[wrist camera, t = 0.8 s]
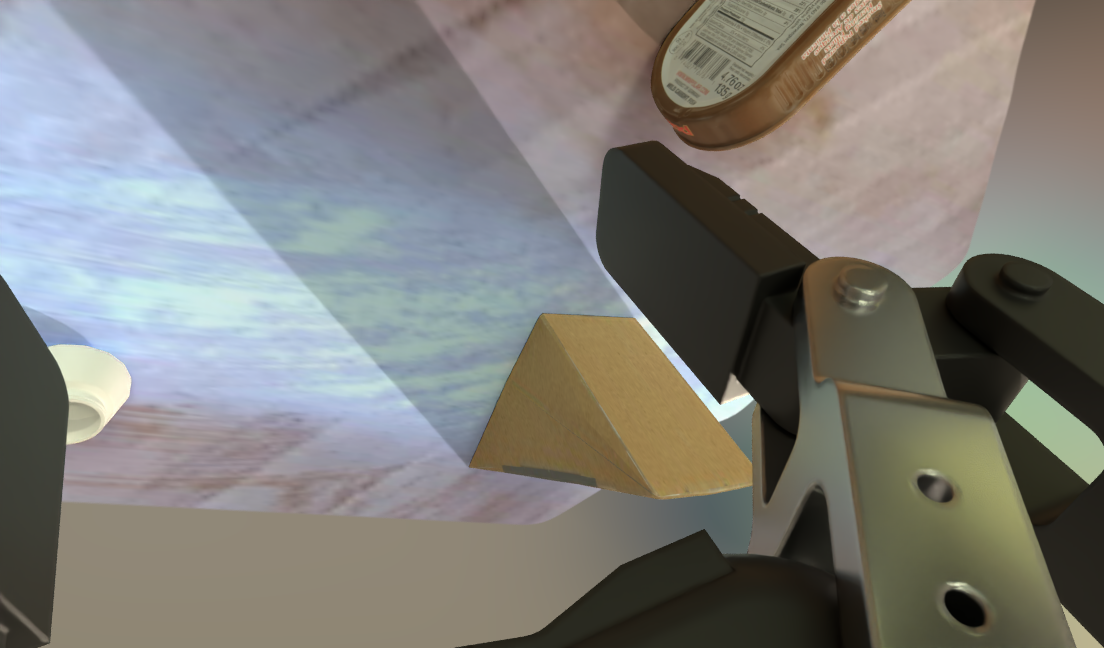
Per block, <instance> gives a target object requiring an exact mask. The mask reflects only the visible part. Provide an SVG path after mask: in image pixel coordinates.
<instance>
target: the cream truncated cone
mask: <svg viewBox="0 0 1104 648" xmlns="http://www.w3.org/2000/svg"><path fill="white" fill-rule="evenodd" d="M48 349H49V350H50V352H51V353H52V355H53V356H54V358H55V360H56V361H57V363H58V365H59V367H60V370H61V372H62V375H63V377H64V380H65V384H66V387H67V392H68V398H69V416H68V428H67V440H66V444H74V443H79V442H82V441H85V440H88V439H90V438H92V437H94V436H95V435H97V434H98V433H99V432H100V431H101V430H102V428H103V427H104V425H106V424H107V423H108V421H109V420H110V419H111V418H112V417H113V415H114V414H115V413H116V412H117V411H118V410H119V408H120V407H121V406H122V405H123V404H124V402H125V401H126V400H127V399H128V398H129V394H130V387H131V377H130V375H129V373H128V371H127V369H126V367H125V365H124V364H123V363H122V362H121V361H119V360H118V359H117V358H115V357H114V356H112V355H111V354H110V353H108V352H105V351H102V350H99V349H95V348H92V347H89V346H85V345H63V344H59V345H54V346H49V347H48Z"/></svg>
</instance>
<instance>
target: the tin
mask: <svg viewBox="0 0 1104 648" xmlns="http://www.w3.org/2000/svg"><path fill="white" fill-rule="evenodd" d="M910 1H911V0H698V1H697V2H696V3H695V4H694V5H693V7H692V8H691V9H690V10H689V11H688V12H687V13H686V14H685V15H684V16H683V17H682V19H681V20H680V21H679V22H678V23H677V24H676V26H675V27H674V28H673V29H672V31H671V32H670V33H669V35H668V36H667V38H666V40H665V41H664V43H663V45H662V46H661V48H660V50H659V52H658V55H657V57H656V59H655V62H654V66H653V70H652V76H651V91H652V95H653V99H654V101H655V103H656V105H657V107H658V109H659V111H660V112H661V113H662V115H663V116H664V117H665V119H666V120H667V121H668V122H669V123H670V124H671V125H672V126H673V129H674V131H675V132H676V134H677V135H678V137H679V138H680V139H681V140H682V141H683V142H684V143H686V144H687V145H689V146H691V147H694V148H696V149H699V150H704V151H726V150H731V149H735V148H738V147H742V146H744V145H747V144H750V143H752V142H754V141H757V140H759V139H761V138H763V137H765V136H766V135H768V134H770V133H772V132H773V131H774V130H776V129H777V128H779V127H780V126H782V125H783V124H784V123H785V122H787V121H788V120H789V119H790V118H792V117H793V116H794V115H795V114H796V113H797V112H798V111H799V110H800V109H801V108H802V107H803V106H804V105H805V104H806V103H807V102H808V101H809V100H810V99H811V98H812V97H813V96H814V95H815V94H816V93H817V92H818V91H819V90H820V89H821V88H822V87H823V86H824V85H825V84H826V83H827V82H829V81H830V80H831V79H832V78H833V77H834V76H835V75H836V74H837V73H838V72H839V71H840V70H841V69H842V68H843V67H844V66H845V65H846V64H847V63H848V62H849V61H850V60H851V59H852V58H853V57H854V56H855V55H856V54H857V53H858V52H859V51H860V50H861V49H862V48H863V47H864V46H865V45H866V44H867V43H868V42H869V41H870V40H871V39H872V38H873V37H874V36H875V35H876V34H877V33H878V32H879V31H880V30H881V29H882V28H883V27H885V26H886V25H887V24H888V23H889V22H890V21H891V20H892V19H893V18H894V17H895V16H896V15H897V14H898V13H899V12H900V11H901V10H902V9H903V8H904V7H905V6H906V5H907V4H908V3H909V2H910Z"/></svg>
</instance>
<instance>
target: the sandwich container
mask: <svg viewBox="0 0 1104 648" xmlns="http://www.w3.org/2000/svg"><path fill="white" fill-rule="evenodd" d="M469 467H470V468H477V469H484V470H491V471H498V472H505V473H511V474H517V475H524V476H530V477H536V478H542V479H548V480H553V481H560V482H567V483H575V484H580V485H585V486H591V487H596V488H601V489H607V490H611V491H617V492H622V493H628V494H634V495H639V496H644V497H650V498H655V499H672V498H681V497H690V496H702V495H710V494H715V493H720V492H725V491H730V490H734V489H739V488H744V487H748V486H753V484H752V463H751V462H750V461H749V459H748V458H747V457H746V456H745V455H744V453H743V452H742V451H741V449H740V448H739V447H738V446H737V444H736V443H735V442H734V441H733V440H732V438H731V437H730V436H729V435H728V433H727V432H726V431H725V430H724V428H723V427H722V426H721V424H720V423H719V422H718V421H717V419H716V418H715V417H714V416H713V414H712V413H711V412H710V411H709V409H708V408H707V407H706V406H705V404H704V403H703V402H702V401H701V399H700V398H699V397H698V396H697V394H696V393H695V392H694V391H693V389H692V388H691V387H690V386H689V384H688V383H687V382H686V381H685V379H684V378H683V377H682V376H681V374H680V373H679V372H678V371H677V369H676V368H675V367H674V366H673V364H672V363H671V362H670V361H669V359H668V358H667V357H666V356H665V354H664V353H663V352H662V351H661V349H660V348H659V347H658V346H657V345H656V343H655V342H654V341H653V340H652V338H651V337H650V336H649V335H648V334H647V332H646V331H645V330H644V329H643V327H642V326H641V325H640V324H639V322H638V321H637V320H636V319H635V318H623V317H605V316H586V315H565V314H544V313H543V314H542V315H541V316H540V317H539V319H538V321H537V323H536V325H535V327H534V328H533V330H532V332H531V334H530V336H529V338H528V340H527V342H526V344H525V346H524V348H523V350H522V352H521V354H520V356H519V358H518V360H517V362H516V364H515V366H514V368H513V370H512V372H511V374H510V376H509V378H508V380H507V382H506V384H505V386H504V389H503V391H502V393H501V395H500V398H499V400H498V402H497V404H496V407H495V409H494V411H493V413H492V416H491V418H490V420H489V422H488V425H487V427H486V429H485V431H484V434H483V436H482V438H481V441H480V443H479V445H478V447H477V450H476V452H475V454H474V456H473V459H472V461H471V463H470V465H469Z"/></svg>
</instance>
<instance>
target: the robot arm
mask: <svg viewBox="0 0 1104 648" xmlns="http://www.w3.org/2000/svg"><path fill="white" fill-rule="evenodd" d="M596 242H597V248H598V253H599V256H600V259H601V261H602V263H603V265H604V267H605V269H606V270H607V271H608V273H609V274H610V275H611V276H612V277H613V279H614V280H615V281H616V282H617V283H618V285H619V286H620V287H621V288H622V289H623V290H624V292H625V293H626V294H627V295H628V296H629V298H630V299H631V300H632V301H633V302H634V303H635V305H636V306H637V307H638V308H639V309H640V311H641V312H642V313H643V314H644V315H645V316H646V318H647V319H648V320H649V321H650V322H651V324H652V325H653V326H654V327H655V328H656V329H657V331H658V332H659V333H660V334H661V335H662V337H663V338H664V339H665V340H666V341H667V342H668V344H669V345H670V346H671V347H672V348H673V350H674V351H675V352H676V353H677V354H678V355H679V357H680V358H681V359H682V360H683V361H684V363H685V364H686V365H687V366H688V367H689V368H690V370H691V371H692V372H693V373H694V374H695V376H696V377H697V378H698V379H699V380H700V381H701V383H702V384H703V385H704V386H705V387H706V389H707V390H708V391H709V392H710V393H711V394H712V396H713V397H714V398H715V399H716V400H717V402H718V403H719V404H720V405H721V404H724V403H727V402H730V401H732V400H735V399H738V398H741V397H743V396H746V395H749V394H750V395H751V396H752V397H753V398H754V399H755V401H756V402H757V404H756V407H755V410H754V412H753V415H752V484H753V524H752V532H751V538H750V543H749V547H748V551H747V554H722V553H721V552H720V551H719V549H718V548H717V546H716V545H715V543H714V542H713V540H712V539H711V537H710V536H709V535H708V533H707V532H706V530H705V529H703V530H701V531H699V532H696V533H694V534H692V535H689V536H687V537H685V538H683V539H680V540H678V541H676V542H673V543H671V544H669V545H666V546H664V547H662V548H659V549H657V550H655V551H653V552H650V553H648V554H646V555H643V556H641V557H639V558H636V559H634V560H632V561H629V562H627V563H625V564H623V565H620V566H619V567H618V568H617V569H616V570H614V571H613V572H612V573H611V574H609V575H608V576H607V577H606V578H605V579H603V580H602V581H601V582H600V583H598V584H597V585H596V586H595V587H594V588H592V589H591V590H590V591H589V592H588V593H586V594H585V595H584V596H583V597H581V598H580V599H579V600H578V601H576V602H575V603H574V604H573V605H572V606H570V607H569V608H568V609H567V610H566V611H564V612H563V613H562V614H561V615H559V616H558V617H557V618H556V619H555V620H553V621H552V622H551V623H550V624H548V625H547V626H546V627H545V628H543V629H542V630H540V631H539V632H536V633H534V634H532V635H528V636H524V637H518V638H512V639H506V640H500V641H493V642H487V643H481V644H475V645H468V646H462V647H456V648H1076V645H1075V642H1074V640H1073V637H1072V634H1071V631H1070V628H1069V626H1068V623H1067V620H1066V618H1065V615H1064V612H1063V609H1062V606H1061V604H1062V605H1063V606H1064V607H1065V608H1066V609H1067V610H1068V611H1069V612H1070V613H1071V614H1072V615H1073V616H1074V617H1075V618H1076V619H1077V621H1078V622H1080V624H1081V625H1082V626H1083V627H1084V628H1085V629H1086V630H1087V631H1088V632H1089V633H1090V634H1091V635H1092V636H1093V637H1094V638H1095V639H1096V640H1097V641H1098V642H1099V643H1100V644H1101V645H1102V646H1103V647H1104V470H1103V471H1102V473H1101V474H1100V475H1099V476H1098V477H1097V478H1096V479H1095V480H1094V481H1093V482H1092V483H1091V484H1090V485H1089V484H1088V483H1086V482H1085V481H1084V480H1083V479H1082V478H1081V477H1080V476H1078V475H1077V474H1076V473H1075V472H1074V471H1073V470H1072V469H1070V468H1069V467H1068V466H1067V465H1066V464H1065V463H1064V462H1062V461H1061V460H1060V459H1059V458H1058V457H1057V456H1056V455H1054V454H1053V453H1052V452H1051V451H1050V450H1049V449H1047V448H1046V447H1045V446H1044V445H1043V444H1042V443H1041V442H1039V441H1038V440H1037V439H1036V438H1034V436H1033V435H1031V434H1030V433H1029V432H1028V431H1027V430H1026V429H1024V428H1023V427H1022V426H1021V425H1020V424H1019V423H1017V422H1016V421H1015V420H1014V419H1013V418H1012V417H1010V416H1009V415H1008V414H1007V413H1006V412H1005V411H1006V409H1007V408H1008V407H1009V405H1010V404H1011V403H1012V401H1013V400H1014V399H1015V397H1016V396H1017V395H1018V393H1019V392H1020V391H1021V389H1022V388H1023V387H1024V385H1025V384H1026V383H1027V381H1028V380H1030V381H1032V382H1033V383H1034V384H1036V385H1037V386H1038V387H1039V388H1040V389H1042V390H1043V391H1044V392H1045V393H1047V394H1048V395H1049V396H1051V397H1052V398H1053V399H1054V400H1055V401H1057V402H1058V403H1059V404H1060V405H1061V406H1063V407H1064V408H1065V409H1066V410H1068V411H1069V412H1070V413H1071V414H1073V415H1074V416H1075V417H1076V418H1078V419H1079V420H1080V421H1081V422H1083V423H1084V424H1085V425H1086V426H1088V427H1089V428H1090V429H1091V430H1092V431H1093V432H1094V433H1095V434H1096V435H1097V436H1098V437H1099V439H1100V440H1101V442H1102V443H1103V446H1104V304H1102V303H1101V302H1099V301H1098V300H1096V299H1095V298H1093V297H1092V296H1090V295H1089V294H1087V293H1086V292H1084V291H1083V290H1081V289H1080V288H1078V287H1077V286H1075V285H1074V284H1072V283H1071V282H1069V281H1068V280H1066V279H1064V278H1063V277H1061V276H1060V275H1058V274H1057V273H1055V272H1053V271H1052V270H1050V269H1048V268H1046V267H1044V266H1042V265H1040V264H1037V263H1034V262H1032V261H1029V260H1026V259H1023V258H1019V257H1015V256H1011V255H1004V254H982V255H977V256H974V257H972V258H970V259H969V260H967V262H966V263H965V264H964V266H963V268H962V269H961V271H960V273H959V275H958V277H957V278H956V280H955V282H954V284H953V285H952V287H935V288H934V287H930V288H911V287H910V286H909V285H908V284H907V283H906V282H905V281H904V280H903V279H902V278H900V277H899V276H898V275H896V274H895V273H893V272H892V271H890V270H888V269H886V268H884V267H882V266H880V265H877V264H875V263H872V262H869V261H865V260H861V259H856V258H850V257H829V258H824V259H819V258H817V257H816V256H815V255H814V254H812V253H811V252H810V251H809V250H807V249H806V248H805V247H804V246H802V245H801V244H800V243H799V242H797V241H796V240H795V239H794V238H793V237H791V236H790V235H789V234H788V233H786V232H785V231H784V230H783V229H781V228H780V227H779V226H778V225H776V224H775V223H774V222H773V221H771V220H770V219H769V218H768V217H766V216H765V215H764V214H763V213H760V214H758V212H757V209H756V208H755V207H754V206H753V205H751V204H750V203H749V202H748V201H746V200H745V199H740V195H739V194H738V193H736V192H735V191H734V190H733V189H731V188H730V187H729V186H728V185H726V184H725V183H724V182H723V181H721V180H720V179H719V178H717V177H715V176H713V175H710V174H708V173H706V172H703V171H701V170H699V169H696V168H694V167H692V166H690V165H687V164H686V163H685V162H683V161H682V160H681V159H680V158H678V157H677V156H676V155H675V154H674V153H672V152H671V151H670V150H669V149H668V148H666V147H665V146H664V145H663V144H661V143H660V142H658V141H648V142H642V143H637V144H632V145H627V146H621V147H616V148H612V149H610V150H609V151H608V152H607V153H606V155H605V158H604V162H603V169H602V179H601V189H600V199H599V209H598V219H597V229H596ZM68 416H69V398H68V392H67V387H66V384H65V380H64V377H63V375H62V372H61V370H60V367H59V365H58V363H57V361H56V360H55V358H54V356H53V355H52V353H51V352H50V350H49V349H48V347H47V345H46V344H45V342H44V341H43V339H42V338H41V336H40V334H39V333H38V331H37V330H36V328H35V327H34V325H33V324H32V322H31V320H30V319H29V317H28V316H27V314H26V313H25V311H24V309H23V308H22V306H21V305H20V303H19V302H18V300H17V299H16V297H15V295H14V294H13V292H12V291H11V289H10V288H9V286H8V285H7V283H6V282H5V280H4V279H3V277H2V276H1V275H0V648H38V647H41V646H44V645H46V644H49V643H50V636H51V624H52V612H53V599H54V587H55V575H56V563H57V562H56V561H57V549H58V537H59V526H60V525H59V524H60V514H61V501H62V489H63V477H64V465H65V452H66V440H67V428H68ZM1060 603H1061V604H1060Z"/></svg>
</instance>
